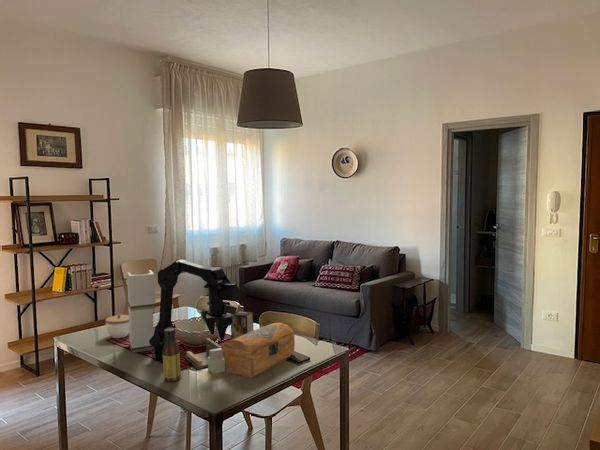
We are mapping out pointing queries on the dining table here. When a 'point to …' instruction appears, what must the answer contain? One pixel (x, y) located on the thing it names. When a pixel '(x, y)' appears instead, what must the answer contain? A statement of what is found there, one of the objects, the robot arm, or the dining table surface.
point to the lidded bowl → (118, 325)
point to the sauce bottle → (171, 356)
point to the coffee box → (241, 324)
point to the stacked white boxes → (141, 310)
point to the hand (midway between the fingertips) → (217, 337)
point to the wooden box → (259, 350)
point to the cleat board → (202, 355)
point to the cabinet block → (216, 361)
